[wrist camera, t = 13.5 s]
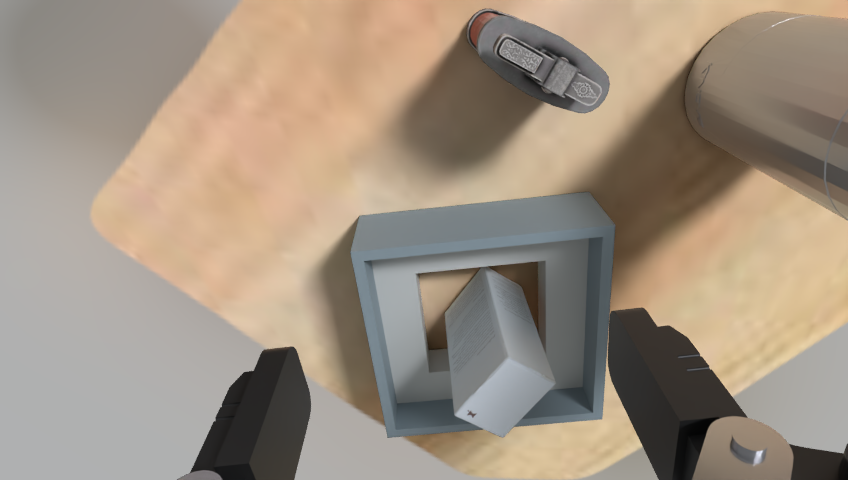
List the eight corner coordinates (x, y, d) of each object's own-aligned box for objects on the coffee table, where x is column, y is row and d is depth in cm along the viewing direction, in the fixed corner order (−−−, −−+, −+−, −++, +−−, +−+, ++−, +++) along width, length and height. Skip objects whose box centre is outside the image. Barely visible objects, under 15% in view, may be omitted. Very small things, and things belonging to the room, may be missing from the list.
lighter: (584, 53, 35) (640, 80, 26) (556, 99, 36) (601, 138, 27) (481, -5, 33) (504, 2, 24) (456, 45, 35) (470, 68, 26)
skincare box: (482, 333, 46) (502, 441, 35) (443, 312, 45) (450, 417, 34) (524, 284, 43) (559, 384, 33) (484, 261, 42) (506, 356, 32)
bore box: (588, 191, 40) (615, 225, 34) (581, 369, 48) (602, 419, 42) (359, 215, 40) (350, 252, 35) (391, 387, 49) (387, 437, 43)
